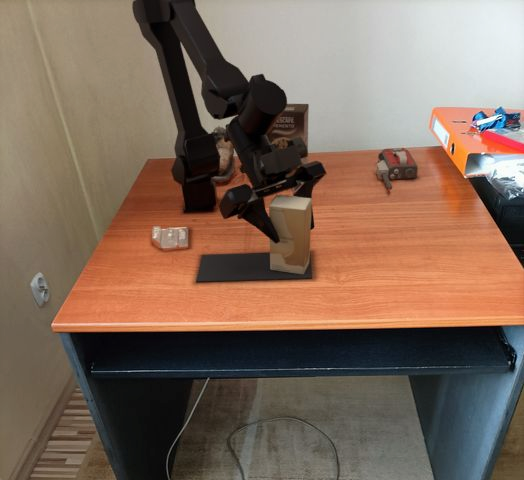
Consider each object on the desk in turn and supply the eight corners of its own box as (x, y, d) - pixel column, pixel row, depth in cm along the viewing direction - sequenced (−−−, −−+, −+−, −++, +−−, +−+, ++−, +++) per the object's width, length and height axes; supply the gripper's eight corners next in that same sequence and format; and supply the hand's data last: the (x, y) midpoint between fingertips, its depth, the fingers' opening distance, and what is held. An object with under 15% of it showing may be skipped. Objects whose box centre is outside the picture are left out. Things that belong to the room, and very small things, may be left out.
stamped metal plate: (154, 232, 104) (153, 226, 103) (188, 229, 104) (187, 222, 103) (151, 252, 98) (150, 245, 97) (188, 248, 98) (187, 241, 97)
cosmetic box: (269, 271, 90) (266, 205, 82) (276, 258, 93) (274, 193, 85) (305, 275, 88) (306, 209, 80) (311, 262, 91) (312, 196, 83)
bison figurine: (232, 186, 119) (228, 141, 113) (202, 187, 120) (196, 143, 113) (237, 166, 128) (234, 124, 122) (209, 167, 129) (204, 125, 123)
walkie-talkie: (369, 160, 127) (384, 194, 111) (371, 142, 124) (386, 174, 108) (405, 158, 126) (425, 192, 111) (408, 140, 123) (428, 172, 108)
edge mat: (196, 282, 89) (195, 281, 89) (202, 256, 96) (202, 254, 96) (312, 279, 88) (312, 277, 88) (310, 252, 95) (310, 250, 94)
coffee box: (265, 185, 119) (261, 111, 108) (271, 174, 124) (267, 102, 113) (304, 186, 117) (304, 111, 106) (308, 175, 122) (309, 102, 111)
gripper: (219, 137, 74) (267, 235, 74) (320, 109, 82) (364, 198, 82) (200, 174, 84) (242, 260, 84) (291, 146, 92) (330, 225, 92)
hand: (295, 235), depth 85 cm, fingers closed on cosmetic box, 7 cm apart
